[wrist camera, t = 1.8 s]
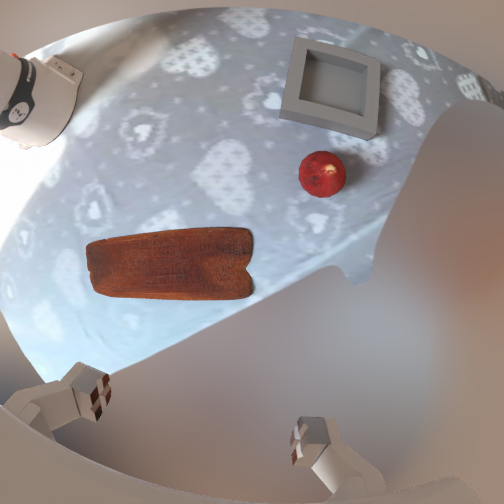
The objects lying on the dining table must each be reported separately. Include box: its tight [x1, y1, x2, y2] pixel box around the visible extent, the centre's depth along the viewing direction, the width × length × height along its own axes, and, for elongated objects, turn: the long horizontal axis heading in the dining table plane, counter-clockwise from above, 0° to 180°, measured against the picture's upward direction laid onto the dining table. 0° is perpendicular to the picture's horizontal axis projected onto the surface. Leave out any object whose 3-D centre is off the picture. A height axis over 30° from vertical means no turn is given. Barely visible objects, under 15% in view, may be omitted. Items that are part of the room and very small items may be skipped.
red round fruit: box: [299, 151, 346, 198], centre depth 32 cm, size 6×6×8 cm
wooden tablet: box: [86, 227, 252, 300], centre depth 38 cm, size 27×10×2 cm, turn 92°
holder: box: [279, 37, 380, 141], centre depth 32 cm, size 13×13×4 cm
